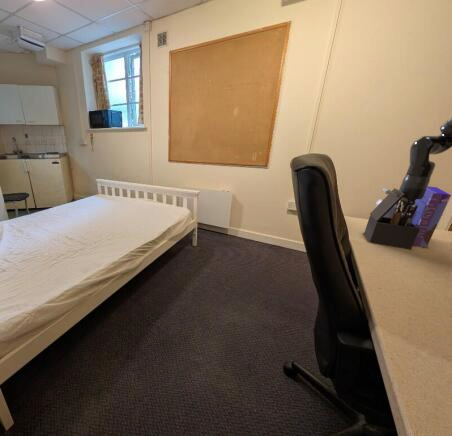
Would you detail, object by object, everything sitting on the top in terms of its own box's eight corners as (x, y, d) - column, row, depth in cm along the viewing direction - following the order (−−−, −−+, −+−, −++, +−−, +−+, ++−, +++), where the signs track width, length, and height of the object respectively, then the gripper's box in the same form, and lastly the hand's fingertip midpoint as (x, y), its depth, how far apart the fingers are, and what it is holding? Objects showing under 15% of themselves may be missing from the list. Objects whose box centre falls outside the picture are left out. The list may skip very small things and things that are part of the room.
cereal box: (426, 247, 96) (451, 194, 88) (410, 244, 99) (433, 192, 90) (416, 234, 109) (437, 187, 101) (402, 232, 112) (421, 185, 103)
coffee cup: (397, 231, 113) (408, 203, 108) (382, 232, 112) (392, 204, 106) (377, 224, 122) (387, 198, 117) (363, 225, 120) (372, 199, 115)
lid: (396, 188, 100) (384, 183, 101) (406, 194, 90) (392, 188, 92) (371, 214, 107) (360, 209, 108) (378, 222, 97) (365, 216, 99)
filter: (403, 223, 99) (408, 213, 98) (408, 227, 95) (413, 216, 93) (388, 221, 102) (392, 211, 100) (392, 225, 98) (396, 214, 96)
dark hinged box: (401, 239, 104) (409, 220, 100) (411, 249, 95) (420, 228, 91) (363, 233, 110) (370, 215, 107) (369, 242, 101) (376, 222, 98)
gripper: (435, 190, 85) (417, 230, 91) (418, 184, 96) (404, 220, 102) (407, 188, 88) (392, 227, 94) (395, 182, 100) (382, 217, 106)
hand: (398, 223), depth 98 cm, fingers closed on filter, 5 cm apart
